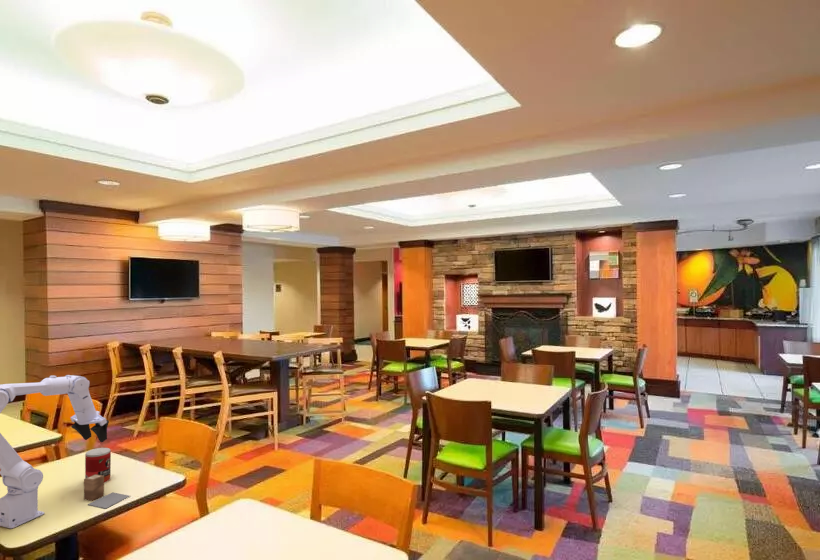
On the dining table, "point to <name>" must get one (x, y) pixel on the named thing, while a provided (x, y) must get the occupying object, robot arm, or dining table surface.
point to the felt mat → (108, 500)
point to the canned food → (98, 463)
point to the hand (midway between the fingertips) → (96, 439)
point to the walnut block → (93, 487)
